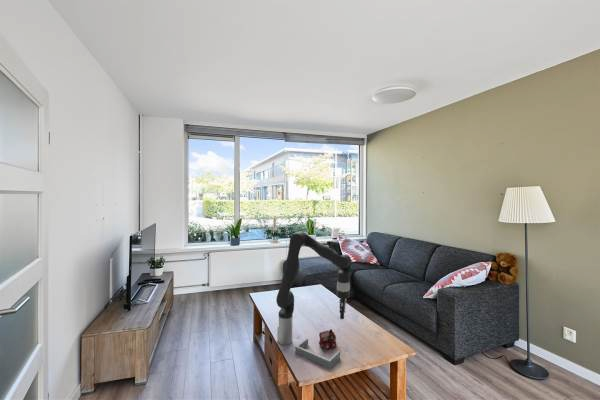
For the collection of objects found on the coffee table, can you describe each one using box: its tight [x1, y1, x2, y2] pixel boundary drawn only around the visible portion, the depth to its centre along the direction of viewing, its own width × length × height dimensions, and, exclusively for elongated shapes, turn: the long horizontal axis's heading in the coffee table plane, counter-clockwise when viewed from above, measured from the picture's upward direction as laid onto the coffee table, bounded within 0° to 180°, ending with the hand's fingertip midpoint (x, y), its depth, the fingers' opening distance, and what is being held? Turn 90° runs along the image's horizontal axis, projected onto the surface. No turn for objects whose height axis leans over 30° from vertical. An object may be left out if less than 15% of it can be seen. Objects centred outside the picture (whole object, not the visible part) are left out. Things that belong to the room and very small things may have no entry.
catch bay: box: [294, 338, 341, 369], centre depth 167 cm, size 25×12×4 cm, turn 53°
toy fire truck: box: [318, 329, 337, 351], centre depth 177 cm, size 7×12×10 cm, turn 119°
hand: (342, 315), depth 164 cm, fingers open, 8 cm apart
